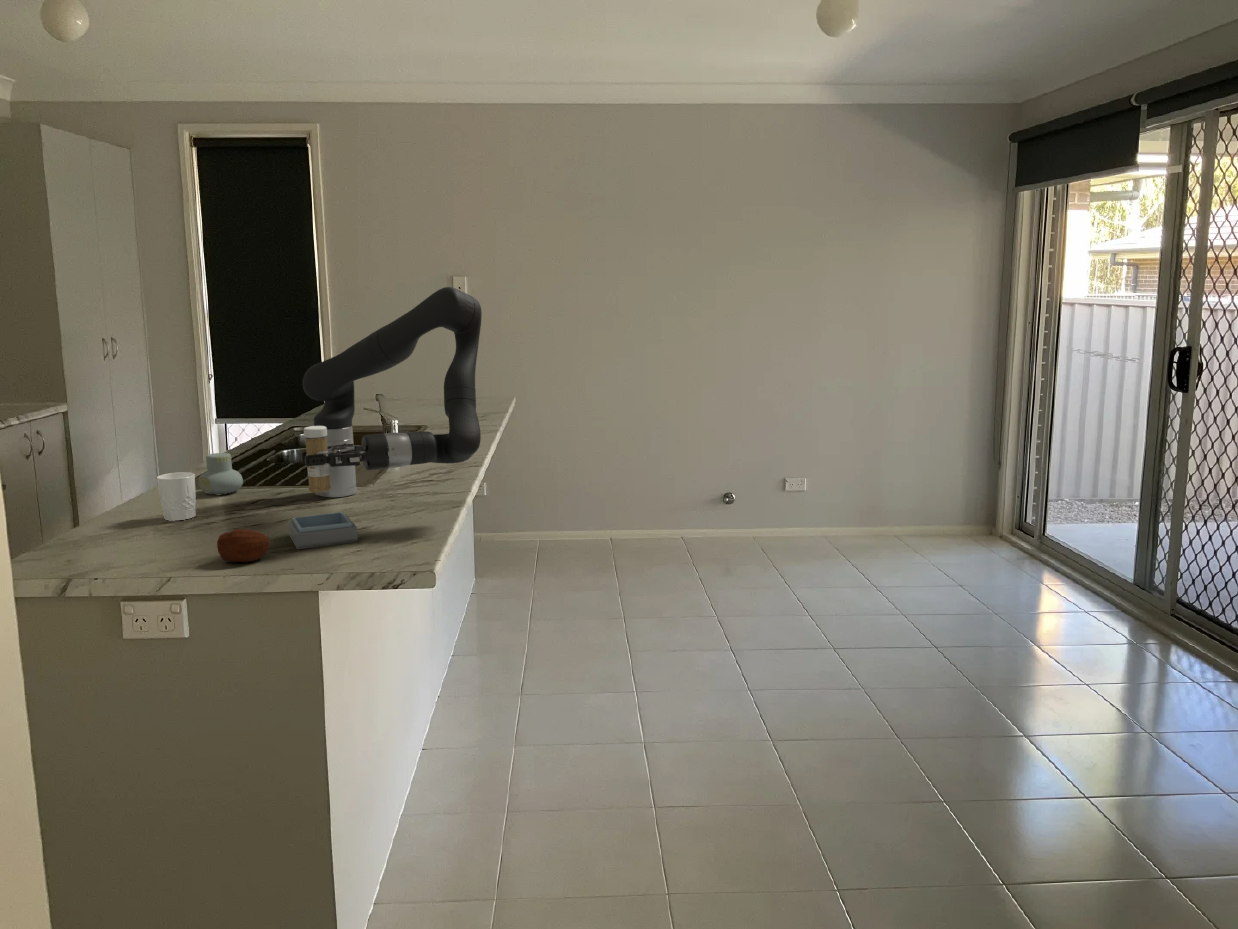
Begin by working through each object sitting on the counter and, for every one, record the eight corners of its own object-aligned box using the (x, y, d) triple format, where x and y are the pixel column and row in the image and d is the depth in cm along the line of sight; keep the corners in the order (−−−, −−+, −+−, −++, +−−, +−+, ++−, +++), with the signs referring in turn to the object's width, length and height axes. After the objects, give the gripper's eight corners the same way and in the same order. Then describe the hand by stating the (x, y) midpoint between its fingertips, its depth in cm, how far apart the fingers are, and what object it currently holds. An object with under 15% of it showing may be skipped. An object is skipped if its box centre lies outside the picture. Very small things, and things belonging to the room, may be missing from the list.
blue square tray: (297, 549, 195) (295, 530, 194) (289, 535, 206) (287, 517, 205) (357, 541, 200) (356, 523, 199) (346, 528, 211) (345, 510, 210)
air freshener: (247, 493, 247) (244, 454, 245) (216, 498, 241) (212, 459, 239) (227, 487, 255) (223, 450, 253) (196, 492, 249) (192, 454, 247)
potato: (228, 556, 191) (225, 524, 190) (275, 555, 191) (273, 523, 190) (214, 566, 184) (211, 533, 183) (263, 565, 184) (260, 533, 183)
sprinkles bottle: (304, 491, 201) (299, 427, 198) (323, 487, 204) (318, 424, 201) (316, 494, 198) (311, 429, 195) (336, 490, 201) (331, 426, 198)
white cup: (206, 515, 224) (202, 473, 222) (181, 523, 217) (176, 480, 215) (179, 513, 227) (175, 471, 225) (153, 521, 220) (148, 478, 218)
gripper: (378, 429, 211) (296, 436, 204) (393, 438, 199) (307, 446, 191) (380, 462, 213) (299, 470, 205) (395, 474, 200) (310, 483, 193)
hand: (304, 459), depth 198 cm, fingers closed on sprinkles bottle, 4 cm apart
